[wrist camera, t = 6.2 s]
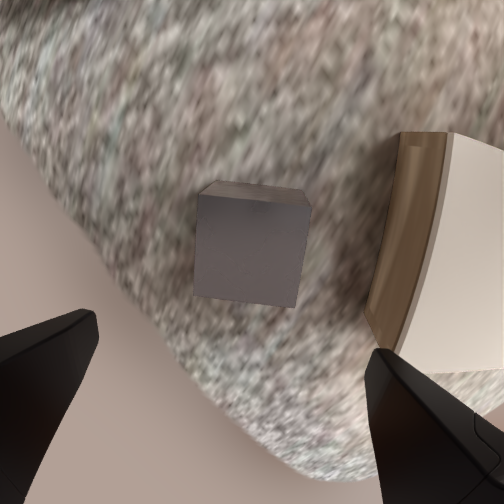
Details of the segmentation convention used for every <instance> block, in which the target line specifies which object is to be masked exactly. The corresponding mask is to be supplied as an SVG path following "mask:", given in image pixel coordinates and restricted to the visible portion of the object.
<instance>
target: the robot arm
mask: <svg viewBox="0 0 504 504" xmlns="http://www.w3.org/2000/svg"><path fill="white" fill-rule="evenodd" d="M98 341H99V332H98V326H97V319H96V314H95V313H94V312H93V311H91V310H87V309H78V310H75V311H73V312H70V313H67V314H65V315H61V316H58V317H56V318H53V319H50V320H47V321H44V322H42V323H39V324H36V325H33V326H30V327H27V328H25V329H22V330H19V331H16V332H13V333H10V334H8V335H5V336H2V337H0V504H23V503H24V501H25V497H26V496H27V493H28V491H29V488H30V486H31V484H32V482H33V479H34V477H35V475H36V473H37V471H38V468H39V466H40V464H41V462H42V460H43V457H44V455H45V453H46V451H47V449H48V447H49V445H50V443H51V441H52V439H53V437H54V435H55V433H56V431H57V429H58V427H59V425H60V423H61V421H62V419H63V417H64V415H65V413H66V411H67V409H68V407H69V405H70V403H71V402H72V400H73V398H74V396H75V394H76V392H77V390H78V388H79V386H80V384H81V382H82V380H83V378H84V375H85V373H86V370H87V368H88V365H89V363H90V361H91V358H92V356H93V354H94V351H95V349H96V347H97V344H98ZM364 380H365V389H366V399H367V410H368V421H369V428H370V433H371V438H372V443H373V448H374V453H375V459H376V464H377V469H378V475H379V480H380V487H381V493H382V499H383V504H504V432H503V431H501V430H500V429H498V428H496V427H495V426H494V425H492V424H491V423H489V422H488V421H487V420H485V419H484V418H482V417H481V416H480V415H479V414H477V413H474V411H473V410H472V409H470V408H469V407H468V406H466V405H465V404H464V403H462V402H461V401H459V400H458V399H457V398H455V397H454V396H453V395H451V394H450V393H449V392H447V391H446V390H445V389H443V388H442V387H440V386H439V385H438V384H436V383H435V382H434V381H432V380H431V379H430V378H428V377H427V376H426V375H424V374H423V373H421V372H420V371H419V370H417V369H416V368H415V367H413V366H412V365H411V364H409V363H408V362H407V361H405V360H404V359H402V358H401V357H400V356H398V355H397V354H396V353H394V352H393V351H392V350H390V349H388V348H376V349H374V351H373V352H372V355H371V357H370V360H369V363H368V365H367V368H366V371H365V376H364Z"/></svg>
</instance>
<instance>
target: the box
mask: <svg viewBox="0 0 504 504" xmlns="http://www.w3.org/2000/svg"><path fill="white" fill-rule="evenodd" d="M447 135H448V133H446V132H401V134H400V142H399V149H398V156H397V163H396V170H395V176H394V182H393V188H392V193H391V199H390V204H389V209H388V214H387V219H386V224H385V229H384V234H383V238H382V243H381V247H380V251H379V256H378V260H377V264H376V268H375V272H374V276H373V280H372V284H371V287H370V291H369V295H368V299H367V302H366V306H365V309H364V314H365V316H366V318H367V321H368V323H369V325H370V327H371V329H372V331H373V334H374V336H375V338H376V340H377V343H378V345H379V347H380V348H388V349H390V350H392V351H393V352H394V351H395V349H396V346H397V343H398V341H399V338H400V335H401V332H402V330H403V327H404V324H405V321H406V318H407V315H408V312H409V309H410V306H411V303H412V300H413V296H414V293H415V290H416V287H417V283H418V280H419V276H420V273H421V269H422V266H423V262H424V258H425V254H426V250H427V246H428V242H429V238H430V234H431V230H432V225H433V221H434V216H435V211H436V206H437V201H438V196H439V190H440V185H441V179H442V173H443V166H444V159H445V152H446V144H447Z"/></svg>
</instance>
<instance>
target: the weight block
mask: <svg viewBox="0 0 504 504" xmlns="http://www.w3.org/2000/svg"><path fill="white" fill-rule="evenodd" d="M311 211H312V206H311V205H310V203H309V201H308V199H307V198H306V196H305V194H304V192H303V191H302V190H298V189H291V188H283V187H275V186H267V185H258V184H249V183H240V182H230V181H220V180H216V181H215V182H214V183H212V184H211V185H210V186H208V187H207V188H206V189H205V190H203V191H202V192H201V193H199V194H198V208H197V224H196V242H195V263H194V290H193V296H201V297H208V298H215V299H223V300H230V301H238V302H246V303H254V304H263V305H271V306H280V307H289V308H295V305H296V299H297V294H298V288H299V283H300V277H301V272H302V266H303V260H304V254H305V248H306V242H307V236H308V230H309V224H310V217H311Z"/></svg>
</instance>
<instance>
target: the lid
mask: <svg viewBox="0 0 504 504" xmlns="http://www.w3.org/2000/svg"><path fill="white" fill-rule="evenodd" d="M394 353H396V354H397V355H398V356H400V357H401V358H402V359H404V360H405V361H407V362H408V363H409V364H411V365H412V366H413V367H415V368H416V369H417V370H419V371H420V372H421V373H423V374H428V373H453V372H469V371H482V370H494V369H504V151H503V150H501V149H498V148H496V147H493V146H490V145H488V144H485V143H483V142H480V141H477V140H475V139H472V138H469V137H466V136H463V135H461V134H458V133H455V132H448V135H447V144H446V152H445V159H444V166H443V173H442V179H441V185H440V190H439V196H438V201H437V206H436V211H435V216H434V221H433V225H432V230H431V234H430V238H429V242H428V246H427V250H426V254H425V258H424V262H423V266H422V269H421V273H420V276H419V280H418V283H417V287H416V290H415V293H414V296H413V300H412V303H411V306H410V309H409V312H408V315H407V318H406V321H405V324H404V327H403V330H402V332H401V335H400V338H399V341H398V343H397V346H396V349H395V351H394Z"/></svg>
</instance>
